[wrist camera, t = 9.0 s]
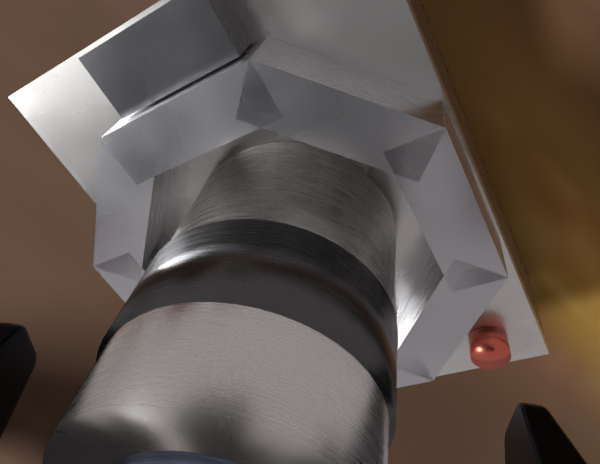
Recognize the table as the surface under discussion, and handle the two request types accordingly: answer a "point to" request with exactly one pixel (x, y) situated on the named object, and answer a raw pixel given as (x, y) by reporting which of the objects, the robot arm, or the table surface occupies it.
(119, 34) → the camera body
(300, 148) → the lens
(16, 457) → the table surface
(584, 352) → the table surface
